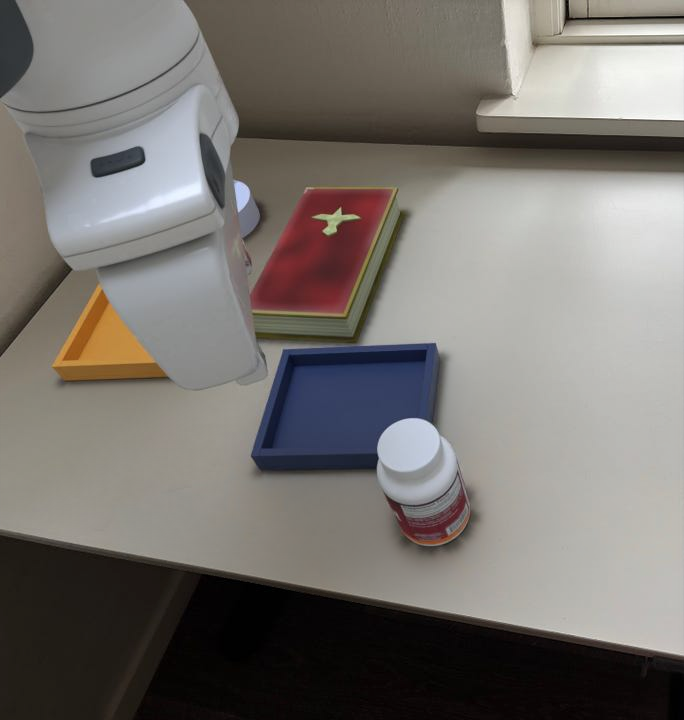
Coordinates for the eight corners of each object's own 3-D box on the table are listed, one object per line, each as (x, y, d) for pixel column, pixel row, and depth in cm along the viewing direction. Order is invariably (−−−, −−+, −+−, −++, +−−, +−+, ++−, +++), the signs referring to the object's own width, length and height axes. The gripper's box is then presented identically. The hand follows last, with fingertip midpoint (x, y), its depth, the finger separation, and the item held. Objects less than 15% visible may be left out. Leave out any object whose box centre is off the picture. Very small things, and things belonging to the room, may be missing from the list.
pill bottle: (399, 487, 62) (368, 413, 54) (469, 478, 62) (448, 403, 54) (398, 553, 58) (364, 485, 50) (473, 544, 58) (452, 474, 50)
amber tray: (64, 381, 76) (51, 366, 74) (113, 290, 85) (102, 276, 83) (201, 375, 74) (191, 360, 72) (237, 284, 83) (229, 268, 81)
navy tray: (259, 470, 66) (250, 456, 64) (290, 364, 74) (283, 349, 72) (426, 467, 63) (421, 452, 62) (440, 358, 72) (436, 342, 70)
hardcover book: (251, 337, 77) (236, 310, 74) (313, 212, 90) (303, 184, 87) (356, 342, 74) (345, 314, 71) (404, 213, 87) (397, 185, 84)
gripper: (80, 41, 40) (189, 233, 50) (46, 272, 27) (204, 466, 37) (191, 11, 40) (277, 207, 51) (212, 222, 27) (322, 427, 38)
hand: (246, 318), depth 44 cm, fingers open, 8 cm apart
